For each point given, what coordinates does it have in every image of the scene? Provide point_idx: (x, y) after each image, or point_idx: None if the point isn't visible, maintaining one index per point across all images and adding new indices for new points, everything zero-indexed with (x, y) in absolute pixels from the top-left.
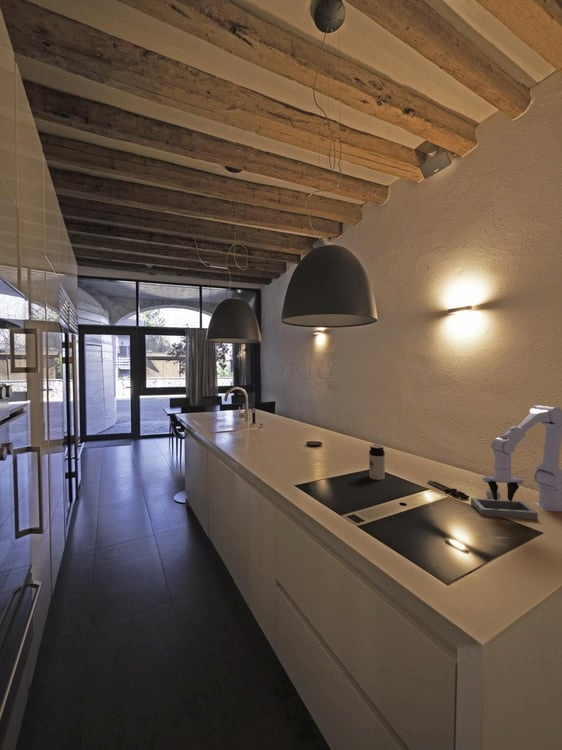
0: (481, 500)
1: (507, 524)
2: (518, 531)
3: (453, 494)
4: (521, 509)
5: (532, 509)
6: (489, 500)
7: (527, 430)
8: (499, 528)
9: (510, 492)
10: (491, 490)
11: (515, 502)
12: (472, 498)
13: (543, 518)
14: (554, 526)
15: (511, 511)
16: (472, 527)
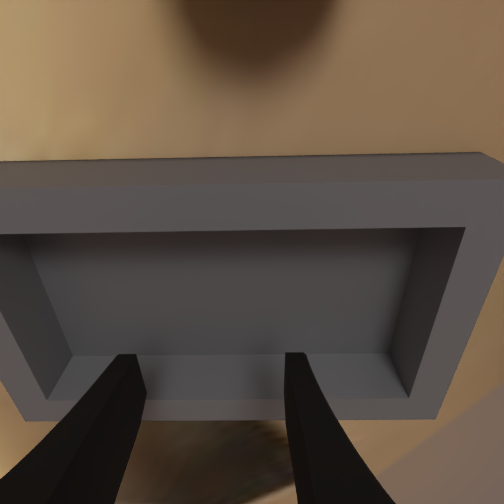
0: (25, 229)
1: (188, 428)
2: (216, 471)
3: None
4: (422, 235)
5: (447, 375)
6: (114, 231)
7: None
8: (133, 461)
9: (300, 500)
10: (46, 450)
11: (414, 225)
12: None
13: (484, 336)
14: (452, 415)
15: (243, 417)
16: (4, 468)
